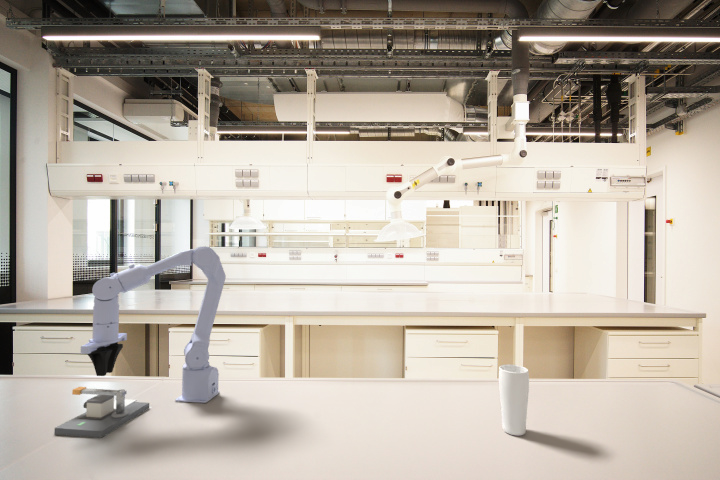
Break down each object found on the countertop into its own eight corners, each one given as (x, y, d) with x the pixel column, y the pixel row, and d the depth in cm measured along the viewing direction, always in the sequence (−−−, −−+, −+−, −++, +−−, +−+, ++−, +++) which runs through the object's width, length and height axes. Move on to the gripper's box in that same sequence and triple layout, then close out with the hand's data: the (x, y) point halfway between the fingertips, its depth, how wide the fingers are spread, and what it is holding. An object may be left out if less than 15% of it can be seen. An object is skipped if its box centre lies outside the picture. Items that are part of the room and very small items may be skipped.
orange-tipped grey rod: (126, 411, 94) (127, 389, 94) (120, 414, 92) (121, 392, 92) (78, 407, 95) (79, 386, 95) (71, 411, 93) (72, 389, 93)
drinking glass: (527, 427, 91) (527, 365, 92) (530, 440, 85) (530, 374, 85) (498, 422, 93) (498, 363, 94) (499, 435, 87) (499, 371, 88)
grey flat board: (151, 406, 101) (151, 399, 101) (101, 437, 85) (101, 428, 85) (111, 404, 103) (111, 396, 103) (54, 434, 86) (54, 425, 86)
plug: (113, 410, 95) (114, 394, 95) (101, 417, 91) (101, 401, 91) (92, 409, 96) (92, 393, 96) (79, 416, 92) (79, 399, 92)
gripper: (110, 317, 106) (109, 365, 106) (69, 328, 92) (67, 383, 91) (134, 317, 106) (133, 365, 106) (97, 328, 92) (95, 383, 91)
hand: (104, 373), depth 98 cm, fingers closed
